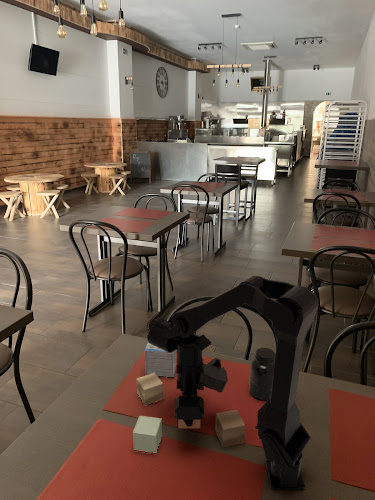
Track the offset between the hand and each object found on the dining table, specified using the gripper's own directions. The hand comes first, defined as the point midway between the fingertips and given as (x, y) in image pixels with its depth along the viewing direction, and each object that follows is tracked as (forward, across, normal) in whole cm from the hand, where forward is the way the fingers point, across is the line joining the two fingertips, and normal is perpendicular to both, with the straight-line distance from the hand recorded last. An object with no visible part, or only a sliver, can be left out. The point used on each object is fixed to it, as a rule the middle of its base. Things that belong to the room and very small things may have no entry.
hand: (189, 415), depth 92 cm
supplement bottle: (+2, +10, -19) cm, 22 cm away
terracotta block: (+1, 0, 0) cm, 1 cm away
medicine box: (+2, +18, +8) cm, 20 cm away
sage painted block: (+1, -7, +9) cm, 11 cm away
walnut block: (+1, -5, -9) cm, 10 cm away
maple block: (+1, +8, +10) cm, 13 cm away
